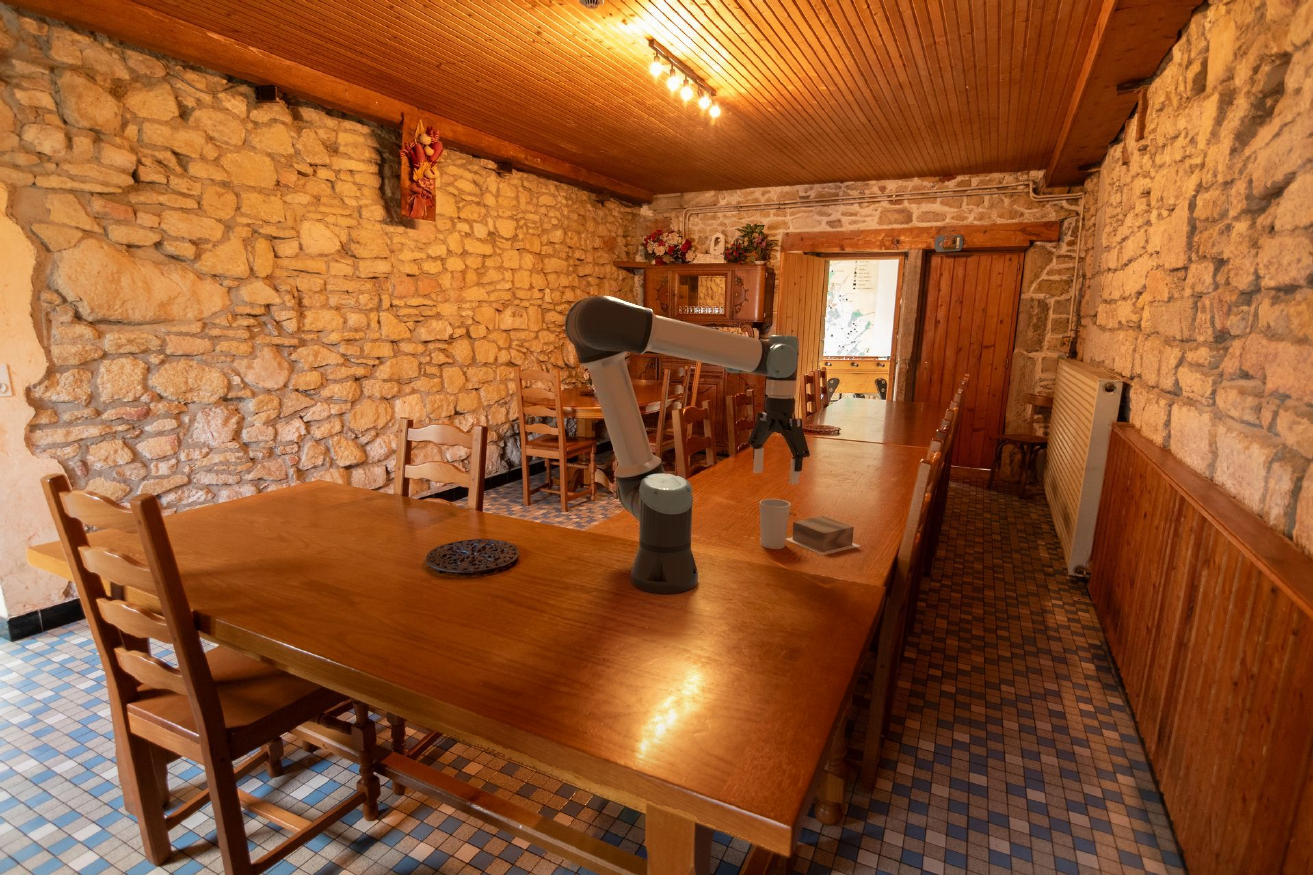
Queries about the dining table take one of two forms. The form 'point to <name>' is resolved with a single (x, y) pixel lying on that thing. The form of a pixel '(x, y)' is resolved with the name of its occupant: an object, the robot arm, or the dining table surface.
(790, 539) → the mat
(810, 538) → the base block
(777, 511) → the cup
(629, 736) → the dining table surface
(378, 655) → the dining table surface
